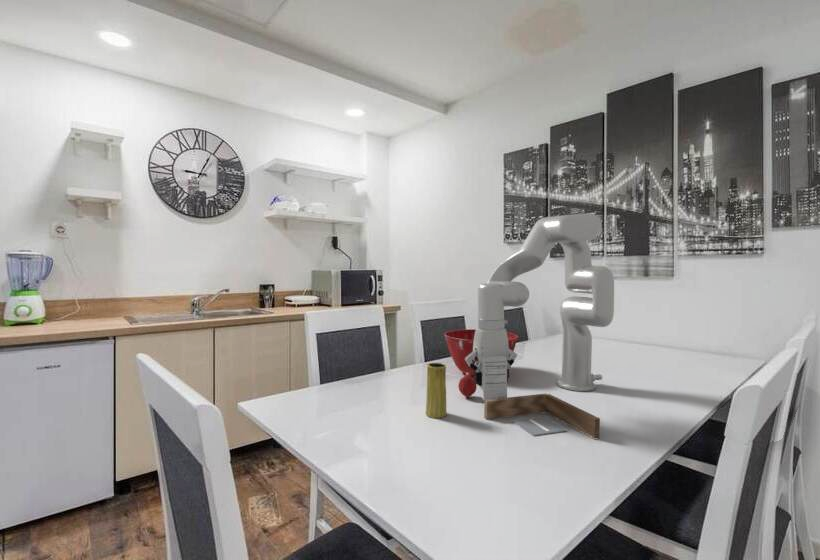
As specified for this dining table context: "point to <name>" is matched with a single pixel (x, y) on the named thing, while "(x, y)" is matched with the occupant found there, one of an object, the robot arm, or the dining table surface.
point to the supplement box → (493, 378)
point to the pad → (539, 426)
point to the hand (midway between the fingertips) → (491, 382)
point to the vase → (436, 390)
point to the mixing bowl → (468, 347)
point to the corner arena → (543, 404)
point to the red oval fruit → (467, 385)
